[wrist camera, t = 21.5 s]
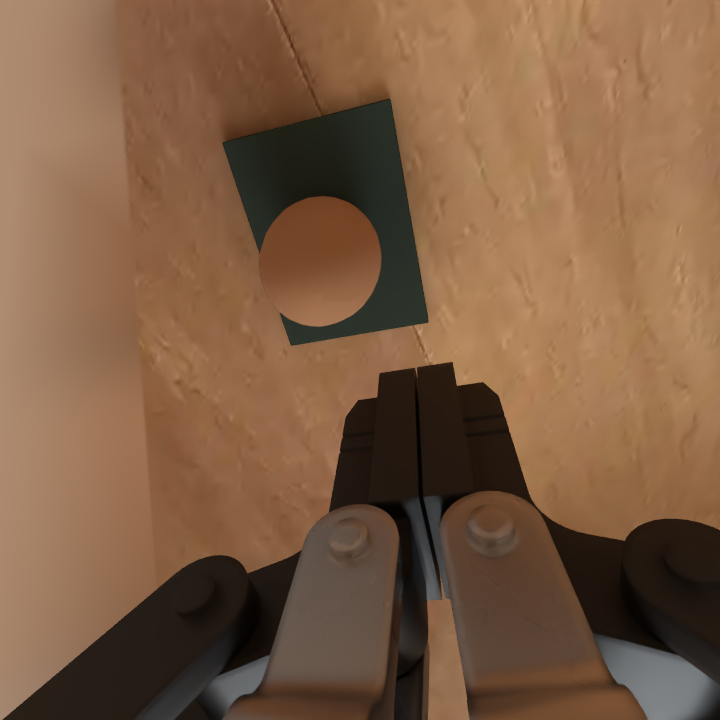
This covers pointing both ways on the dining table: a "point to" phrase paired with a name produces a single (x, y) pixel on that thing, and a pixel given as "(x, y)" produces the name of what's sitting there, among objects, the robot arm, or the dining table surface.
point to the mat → (346, 182)
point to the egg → (320, 261)
